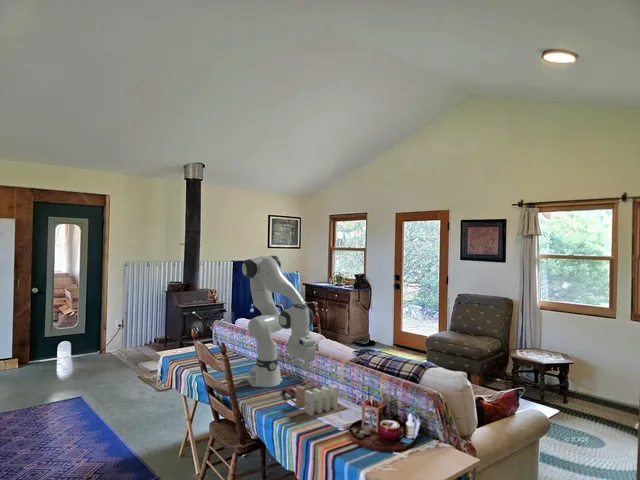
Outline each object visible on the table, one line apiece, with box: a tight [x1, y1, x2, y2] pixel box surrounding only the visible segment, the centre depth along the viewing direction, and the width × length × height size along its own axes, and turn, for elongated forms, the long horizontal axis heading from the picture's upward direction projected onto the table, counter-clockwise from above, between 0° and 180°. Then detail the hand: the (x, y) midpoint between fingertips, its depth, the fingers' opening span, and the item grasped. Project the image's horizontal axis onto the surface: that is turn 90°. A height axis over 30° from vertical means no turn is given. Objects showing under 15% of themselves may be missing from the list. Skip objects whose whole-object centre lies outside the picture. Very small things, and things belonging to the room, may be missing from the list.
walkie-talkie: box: [281, 386, 296, 404], centre depth 218 cm, size 9×4×20 cm
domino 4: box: [320, 386, 330, 411], centre depth 201 cm, size 2×5×10 cm, turn 35°
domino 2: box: [304, 389, 314, 416], centre depth 196 cm, size 2×5×10 cm, turn 34°
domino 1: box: [295, 385, 306, 409], centre depth 205 cm, size 2×5×10 cm, turn 35°
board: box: [283, 402, 349, 425], centre depth 198 cm, size 12×28×1 cm, turn 125°
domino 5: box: [327, 384, 338, 409], centre depth 204 cm, size 2×5×10 cm, turn 34°
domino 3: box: [312, 387, 322, 413], centre depth 198 cm, size 2×5×10 cm, turn 35°
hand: (300, 367), depth 205 cm, fingers open, 8 cm apart
